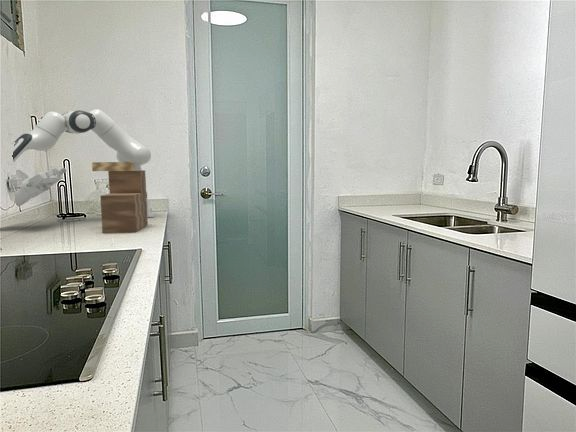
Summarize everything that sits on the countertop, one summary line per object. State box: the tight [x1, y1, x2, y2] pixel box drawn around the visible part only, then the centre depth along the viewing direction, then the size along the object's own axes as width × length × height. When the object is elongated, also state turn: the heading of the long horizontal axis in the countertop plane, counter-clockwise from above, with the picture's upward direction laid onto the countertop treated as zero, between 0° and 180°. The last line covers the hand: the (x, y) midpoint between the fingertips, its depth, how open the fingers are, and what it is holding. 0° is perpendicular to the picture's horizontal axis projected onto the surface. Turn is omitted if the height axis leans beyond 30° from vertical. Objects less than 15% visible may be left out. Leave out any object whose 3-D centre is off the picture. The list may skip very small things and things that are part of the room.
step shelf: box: [99, 170, 149, 234], centre depth 212 cm, size 23×14×26 cm, turn 4°
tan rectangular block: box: [91, 161, 135, 172], centre depth 217 cm, size 18×3×4 cm, turn 94°
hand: (61, 169), depth 215 cm, fingers open, 8 cm apart
